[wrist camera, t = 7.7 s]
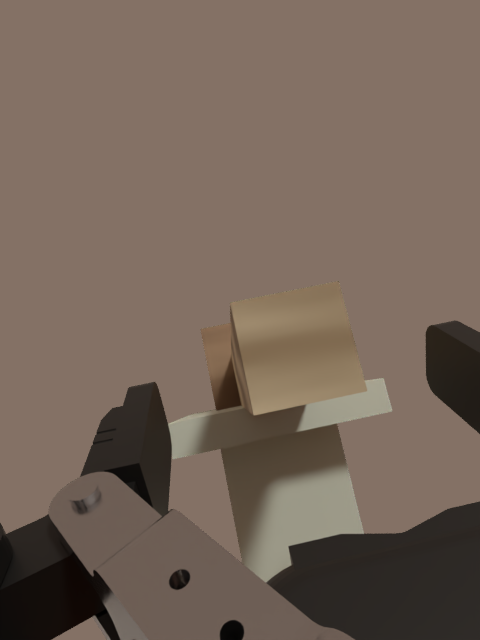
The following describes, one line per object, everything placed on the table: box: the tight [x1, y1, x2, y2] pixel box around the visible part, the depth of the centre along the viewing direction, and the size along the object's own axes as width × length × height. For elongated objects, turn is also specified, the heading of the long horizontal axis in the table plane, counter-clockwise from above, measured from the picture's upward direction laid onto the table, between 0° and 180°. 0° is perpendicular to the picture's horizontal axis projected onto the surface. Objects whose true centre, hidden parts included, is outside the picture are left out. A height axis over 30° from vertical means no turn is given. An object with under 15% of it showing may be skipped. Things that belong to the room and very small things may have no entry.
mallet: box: [201, 281, 367, 415], centre depth 20 cm, size 19×6×5 cm, turn 1°
